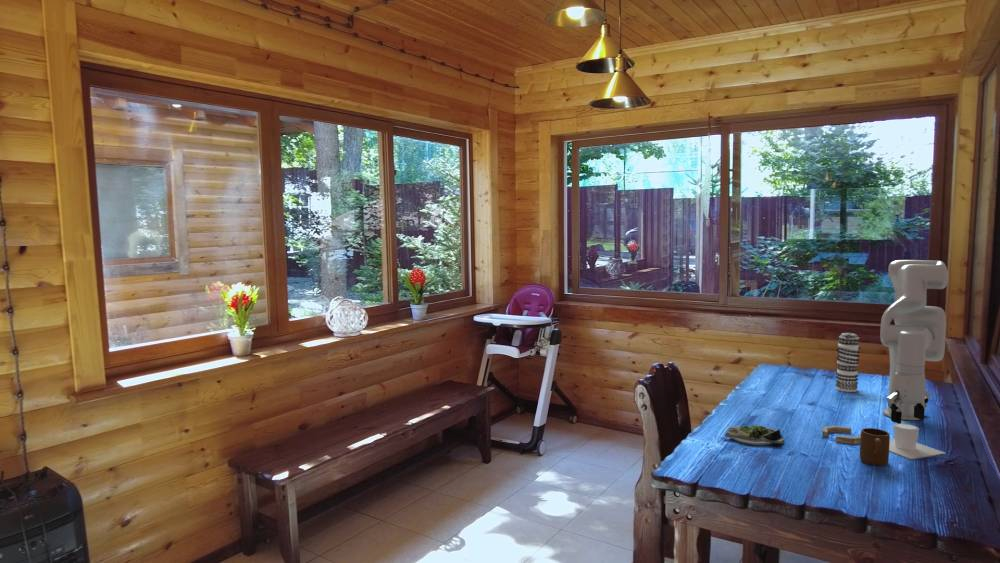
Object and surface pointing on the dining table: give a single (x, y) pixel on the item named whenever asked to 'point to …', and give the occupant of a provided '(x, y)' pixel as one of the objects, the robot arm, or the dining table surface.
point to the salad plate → (755, 435)
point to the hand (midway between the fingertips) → (907, 420)
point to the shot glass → (905, 436)
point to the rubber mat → (914, 451)
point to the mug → (874, 446)
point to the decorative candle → (847, 362)
